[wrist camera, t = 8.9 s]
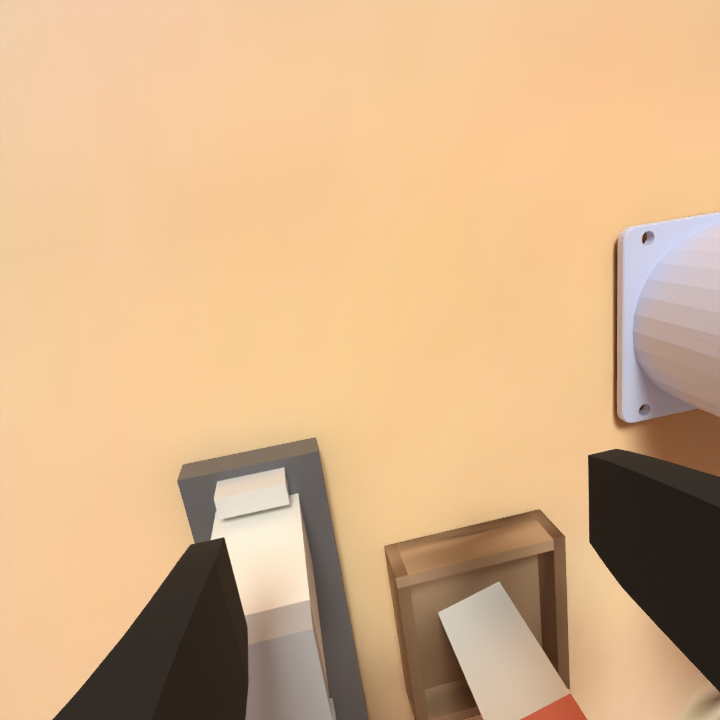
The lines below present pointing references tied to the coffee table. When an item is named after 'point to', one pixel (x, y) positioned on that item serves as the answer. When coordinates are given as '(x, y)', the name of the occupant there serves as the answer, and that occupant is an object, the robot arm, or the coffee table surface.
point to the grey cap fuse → (278, 613)
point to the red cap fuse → (505, 660)
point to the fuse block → (272, 489)
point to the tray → (463, 579)
